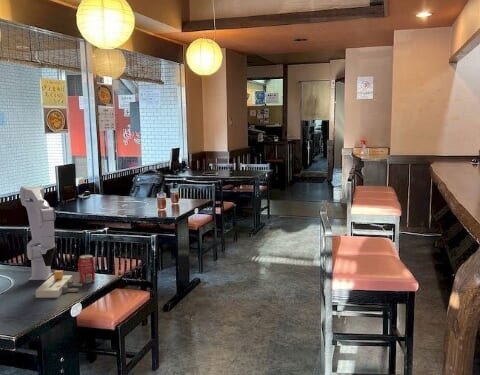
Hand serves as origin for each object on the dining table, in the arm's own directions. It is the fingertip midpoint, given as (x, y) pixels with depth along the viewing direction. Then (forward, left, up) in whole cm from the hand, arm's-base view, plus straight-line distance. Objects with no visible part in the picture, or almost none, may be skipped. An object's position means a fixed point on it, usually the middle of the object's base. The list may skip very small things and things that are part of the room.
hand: (48, 265), depth 202 cm
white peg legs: (+4, +11, -9) cm, 15 cm away
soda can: (-6, +15, -10) cm, 19 cm away
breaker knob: (-1, +4, -6) cm, 7 cm away
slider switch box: (+4, +4, -9) cm, 11 cm away
